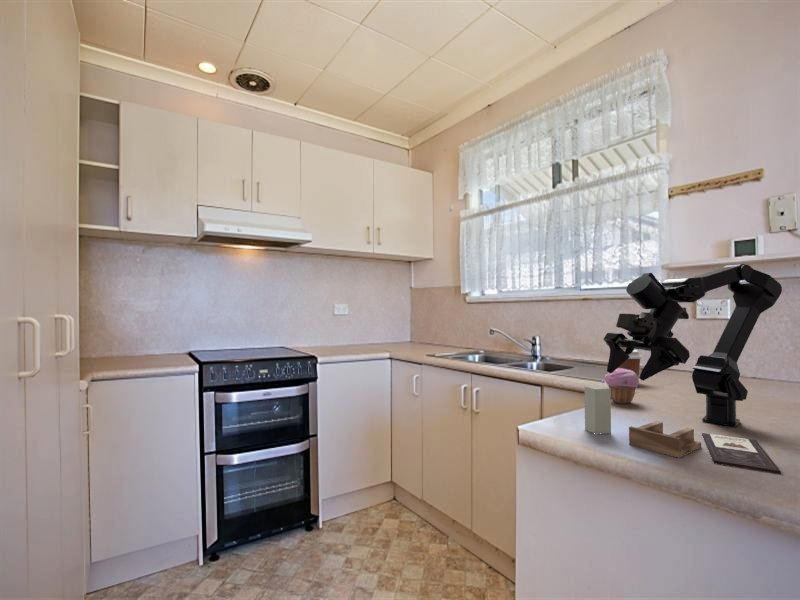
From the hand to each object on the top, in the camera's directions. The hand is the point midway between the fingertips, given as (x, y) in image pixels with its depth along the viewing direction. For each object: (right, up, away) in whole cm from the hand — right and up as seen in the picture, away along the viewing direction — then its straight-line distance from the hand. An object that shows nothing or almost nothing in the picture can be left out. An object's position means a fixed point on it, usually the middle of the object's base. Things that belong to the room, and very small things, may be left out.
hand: (623, 375), depth 90 cm
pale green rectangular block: (-6, -13, 0) cm, 14 cm away
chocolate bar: (+15, -13, -13) cm, 23 cm away
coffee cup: (+32, -13, +55) cm, 65 cm away
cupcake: (+15, -13, +27) cm, 34 cm away
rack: (+3, -13, -9) cm, 16 cm away
